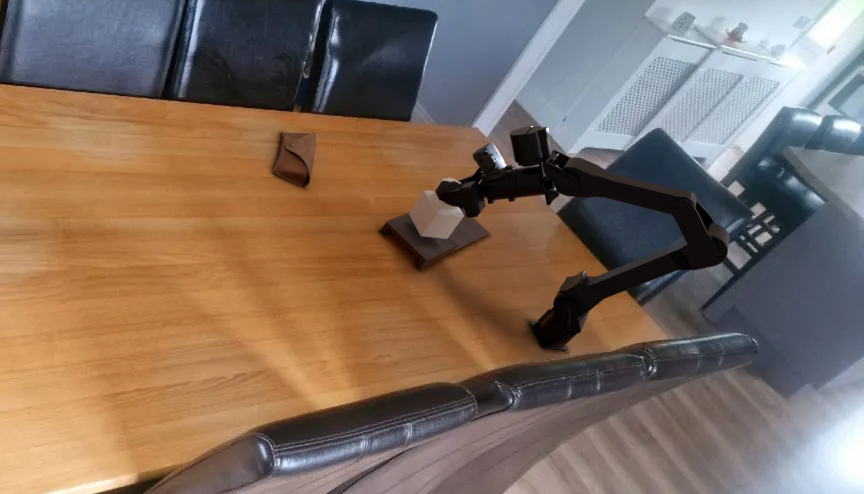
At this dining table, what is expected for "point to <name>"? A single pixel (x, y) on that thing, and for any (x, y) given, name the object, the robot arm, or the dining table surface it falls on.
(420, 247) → the step shelf
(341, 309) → the dining table surface
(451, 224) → the medicine bottle
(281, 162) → the sunglasses case
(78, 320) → the dining table surface
